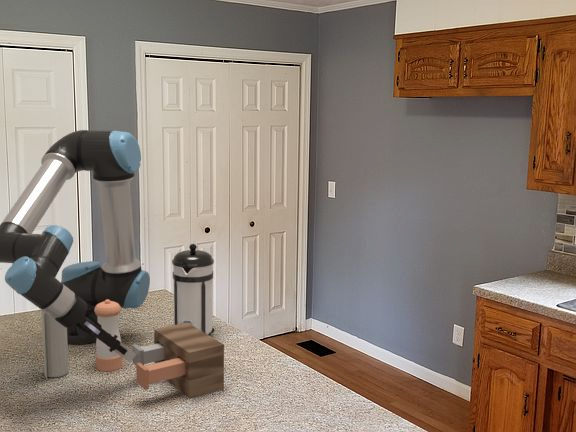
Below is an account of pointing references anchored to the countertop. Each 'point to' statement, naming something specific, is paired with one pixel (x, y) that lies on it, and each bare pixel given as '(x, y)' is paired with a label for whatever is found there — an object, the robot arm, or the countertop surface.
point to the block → (193, 358)
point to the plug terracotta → (159, 371)
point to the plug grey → (148, 353)
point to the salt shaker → (109, 323)
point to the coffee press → (193, 288)
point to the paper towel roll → (54, 347)
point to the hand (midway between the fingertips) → (132, 357)
